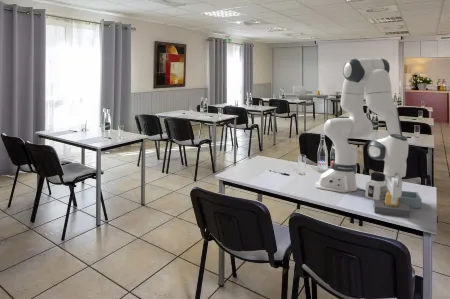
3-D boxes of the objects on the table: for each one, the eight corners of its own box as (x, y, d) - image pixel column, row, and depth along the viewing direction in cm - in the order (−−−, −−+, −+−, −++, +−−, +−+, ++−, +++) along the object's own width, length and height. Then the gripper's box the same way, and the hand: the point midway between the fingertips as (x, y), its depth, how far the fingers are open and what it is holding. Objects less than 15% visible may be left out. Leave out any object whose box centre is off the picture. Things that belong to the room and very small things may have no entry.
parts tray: (394, 205, 161) (395, 196, 160) (391, 198, 171) (392, 189, 171) (420, 208, 158) (421, 199, 157) (416, 200, 168) (417, 192, 167)
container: (379, 201, 167) (381, 175, 165) (364, 196, 173) (367, 172, 171) (387, 198, 172) (389, 173, 169) (373, 194, 178) (375, 170, 175)
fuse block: (374, 212, 152) (375, 206, 152) (373, 205, 161) (373, 199, 161) (409, 217, 147) (410, 210, 147) (406, 209, 157) (406, 203, 156)
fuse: (384, 211, 154) (386, 194, 153) (384, 209, 156) (385, 193, 155) (396, 212, 152) (398, 195, 151) (396, 210, 155) (398, 194, 153)
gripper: (407, 177, 140) (403, 209, 143) (398, 166, 159) (395, 194, 162) (390, 176, 142) (387, 207, 145) (383, 165, 161) (380, 192, 164)
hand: (391, 200), depth 153 cm, fingers open, 7 cm apart
